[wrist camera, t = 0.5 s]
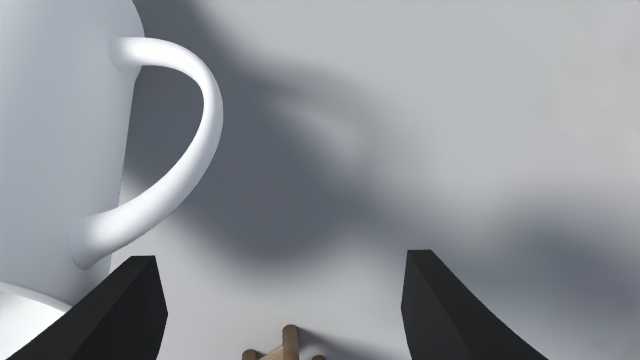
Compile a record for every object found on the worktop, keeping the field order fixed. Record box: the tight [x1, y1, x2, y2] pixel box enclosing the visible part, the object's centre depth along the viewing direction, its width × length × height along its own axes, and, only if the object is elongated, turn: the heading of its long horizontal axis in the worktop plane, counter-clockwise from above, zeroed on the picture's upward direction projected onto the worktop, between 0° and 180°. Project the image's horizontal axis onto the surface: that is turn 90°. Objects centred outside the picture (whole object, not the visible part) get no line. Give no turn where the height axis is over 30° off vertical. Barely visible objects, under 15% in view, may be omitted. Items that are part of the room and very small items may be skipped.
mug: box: [0, 0, 223, 360], centre depth 13 cm, size 12×8×12 cm
